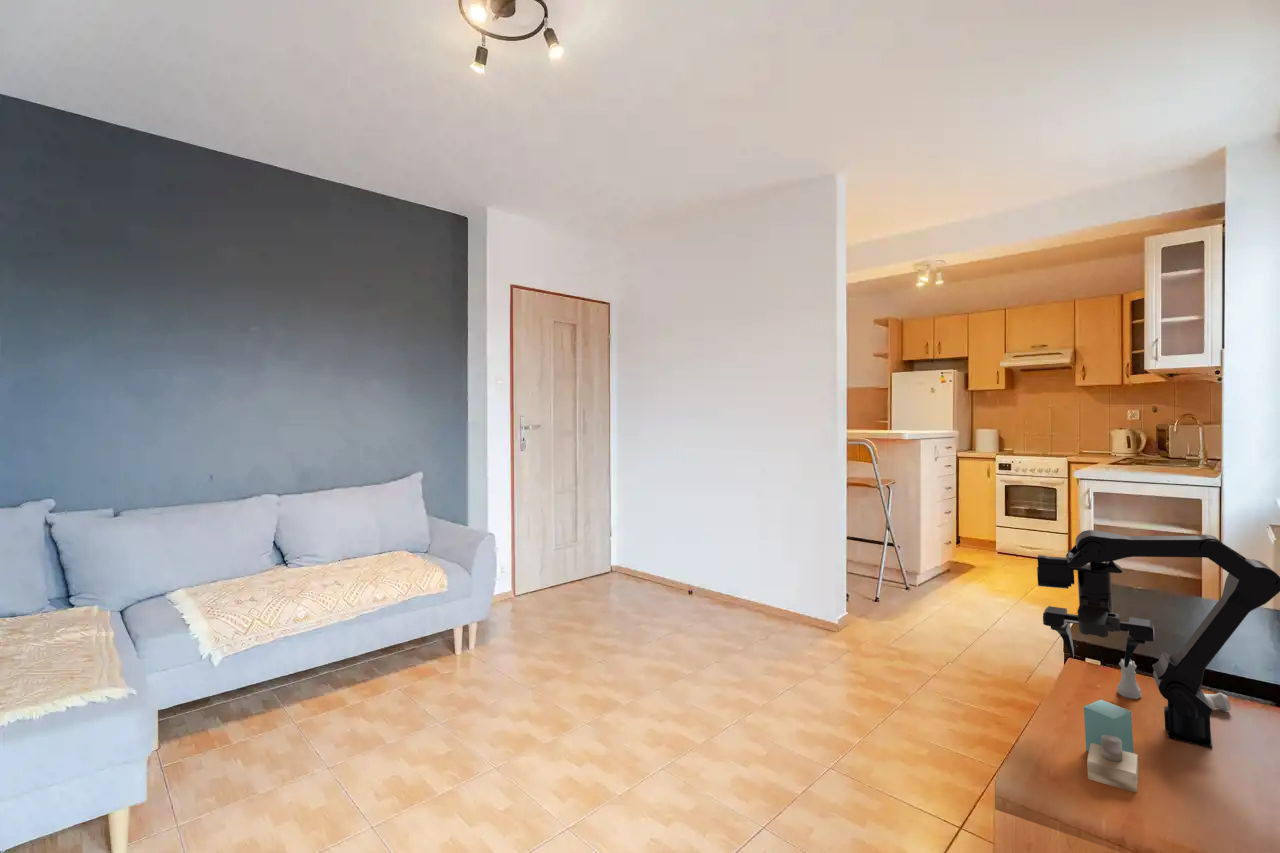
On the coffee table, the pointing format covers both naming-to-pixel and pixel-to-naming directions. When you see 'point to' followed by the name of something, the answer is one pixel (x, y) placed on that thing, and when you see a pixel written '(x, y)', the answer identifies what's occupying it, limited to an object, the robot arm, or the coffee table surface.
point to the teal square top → (1108, 724)
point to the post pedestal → (1113, 764)
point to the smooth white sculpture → (1218, 701)
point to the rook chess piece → (1128, 681)
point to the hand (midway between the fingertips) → (1098, 661)
